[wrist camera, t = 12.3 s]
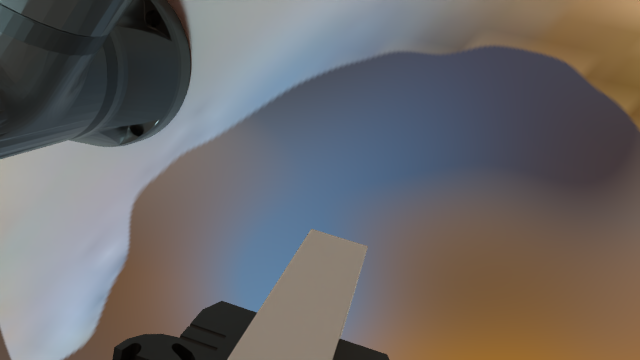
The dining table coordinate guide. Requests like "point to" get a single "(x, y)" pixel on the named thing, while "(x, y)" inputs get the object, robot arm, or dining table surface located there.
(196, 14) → the dining table surface
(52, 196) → the dining table surface
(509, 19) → the dining table surface
